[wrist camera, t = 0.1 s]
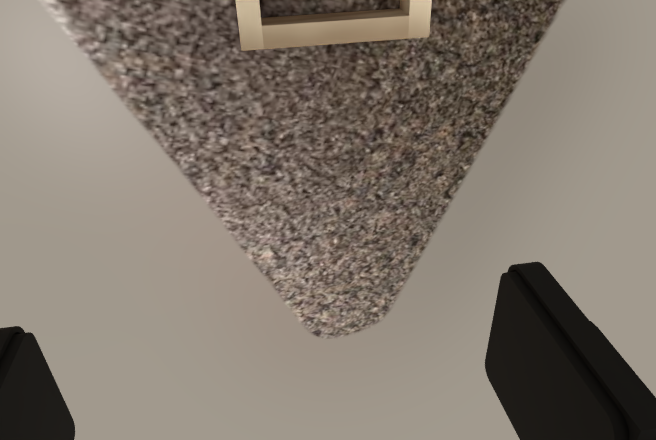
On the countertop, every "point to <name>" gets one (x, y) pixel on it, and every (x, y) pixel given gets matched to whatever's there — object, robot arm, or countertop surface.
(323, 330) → the countertop surface
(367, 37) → the frame
